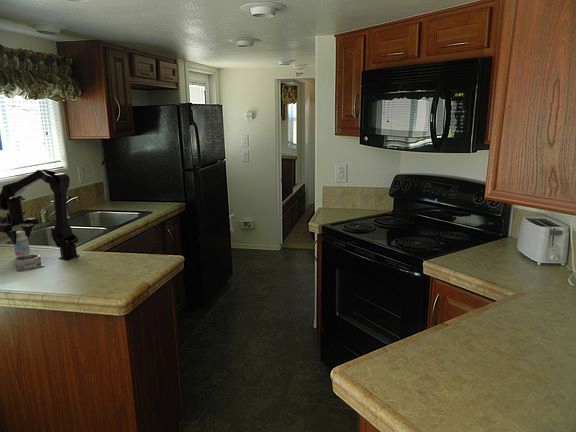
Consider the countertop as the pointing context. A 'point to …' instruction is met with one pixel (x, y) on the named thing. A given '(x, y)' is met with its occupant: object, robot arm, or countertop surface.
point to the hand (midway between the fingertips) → (20, 242)
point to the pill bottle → (21, 244)
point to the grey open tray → (29, 262)
